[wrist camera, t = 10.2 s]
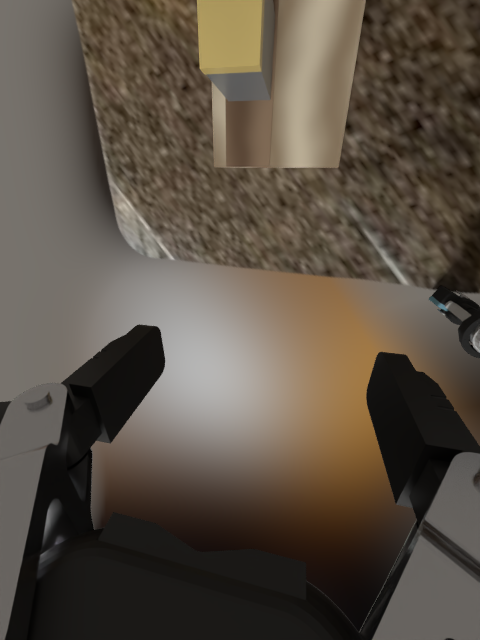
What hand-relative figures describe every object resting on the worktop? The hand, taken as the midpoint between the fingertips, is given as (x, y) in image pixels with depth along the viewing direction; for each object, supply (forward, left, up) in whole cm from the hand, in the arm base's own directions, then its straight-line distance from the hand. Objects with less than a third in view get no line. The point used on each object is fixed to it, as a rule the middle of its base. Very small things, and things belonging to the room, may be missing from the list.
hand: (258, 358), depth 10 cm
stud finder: (+5, -16, -26) cm, 31 cm away
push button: (-22, +8, -28) cm, 36 cm away
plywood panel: (+2, -16, -27) cm, 32 cm away
